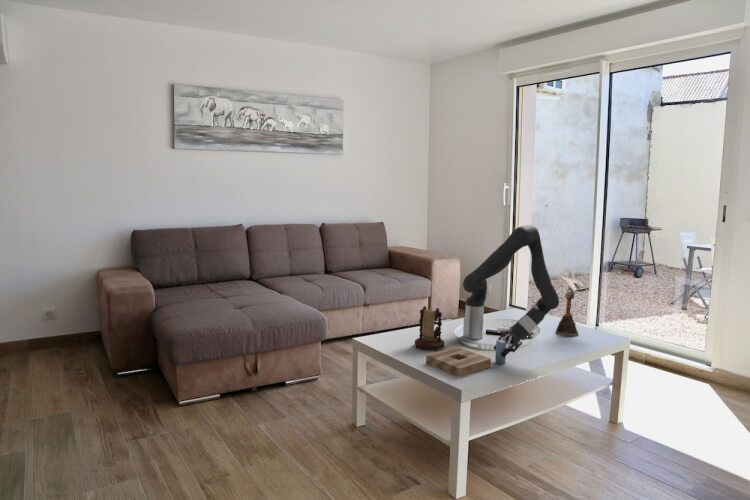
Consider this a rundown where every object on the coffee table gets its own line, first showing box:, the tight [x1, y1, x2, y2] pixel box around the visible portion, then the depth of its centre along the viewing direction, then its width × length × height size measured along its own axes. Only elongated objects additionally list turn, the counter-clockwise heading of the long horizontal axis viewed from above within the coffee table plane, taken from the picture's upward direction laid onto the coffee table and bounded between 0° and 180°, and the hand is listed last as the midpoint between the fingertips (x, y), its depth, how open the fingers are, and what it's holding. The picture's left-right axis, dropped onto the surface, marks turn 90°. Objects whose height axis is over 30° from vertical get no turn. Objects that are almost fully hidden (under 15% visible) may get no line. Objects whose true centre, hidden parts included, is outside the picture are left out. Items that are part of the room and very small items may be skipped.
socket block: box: [425, 346, 492, 378], centre depth 230 cm, size 20×20×4 cm
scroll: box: [414, 305, 446, 352], centre depth 254 cm, size 15×15×20 cm
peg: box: [494, 339, 507, 366], centre depth 234 cm, size 4×4×10 cm
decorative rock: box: [508, 326, 535, 338], centre depth 278 cm, size 11×4×15 cm
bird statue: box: [555, 269, 590, 338], centre depth 277 cm, size 17×13×35 cm
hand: (498, 352), depth 234 cm, fingers open, 8 cm apart
